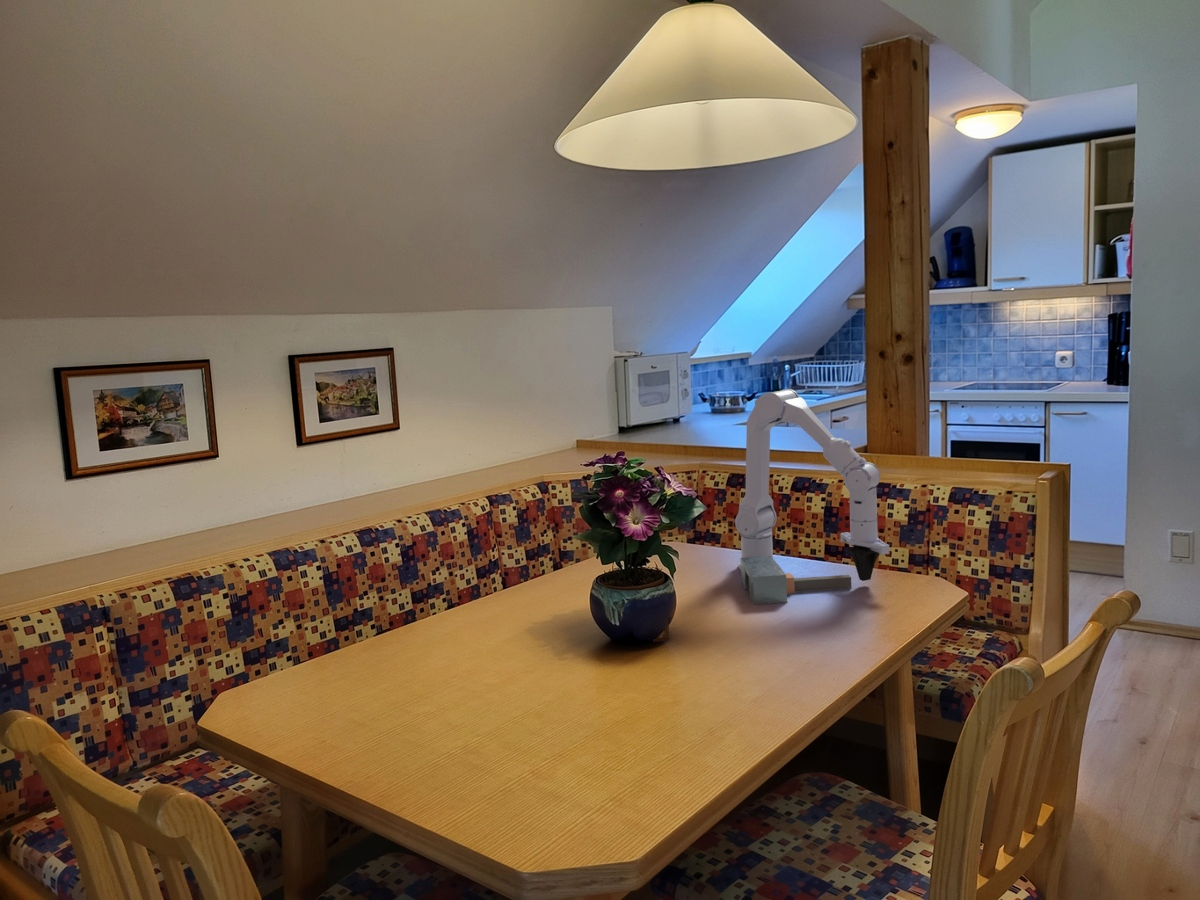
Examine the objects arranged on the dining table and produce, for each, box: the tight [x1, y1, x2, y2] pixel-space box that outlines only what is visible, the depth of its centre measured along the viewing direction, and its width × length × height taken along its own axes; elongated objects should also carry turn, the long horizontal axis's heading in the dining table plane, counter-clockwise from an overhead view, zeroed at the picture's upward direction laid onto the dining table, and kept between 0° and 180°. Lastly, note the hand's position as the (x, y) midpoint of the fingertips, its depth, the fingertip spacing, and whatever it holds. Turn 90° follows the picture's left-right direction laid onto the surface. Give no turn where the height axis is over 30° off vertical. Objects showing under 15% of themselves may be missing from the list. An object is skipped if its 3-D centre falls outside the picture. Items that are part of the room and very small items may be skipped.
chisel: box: [785, 573, 852, 595], centre depth 203 cm, size 4×18×4 cm, turn 91°
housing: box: [739, 556, 788, 605], centre depth 203 cm, size 16×7×6 cm, turn 1°
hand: (865, 579), depth 203 cm, fingers closed
